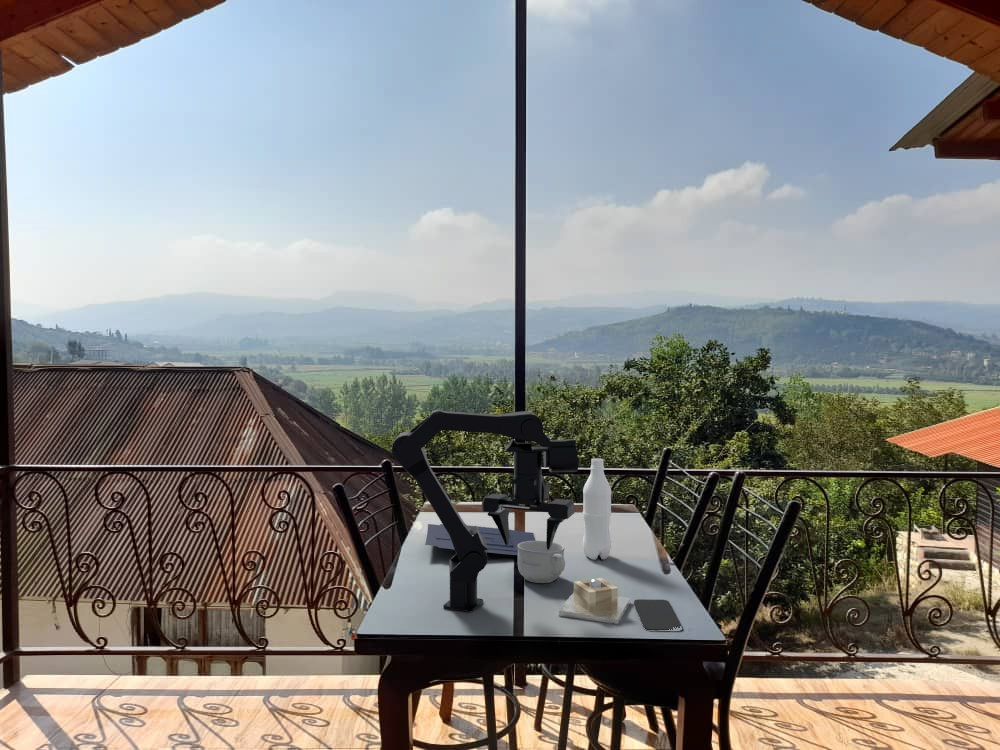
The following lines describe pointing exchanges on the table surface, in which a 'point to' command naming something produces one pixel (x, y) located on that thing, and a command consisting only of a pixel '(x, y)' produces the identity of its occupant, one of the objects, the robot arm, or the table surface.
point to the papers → (492, 536)
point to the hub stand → (605, 615)
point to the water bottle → (597, 512)
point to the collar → (595, 595)
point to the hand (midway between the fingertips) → (527, 546)
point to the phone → (656, 614)
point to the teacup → (540, 561)
